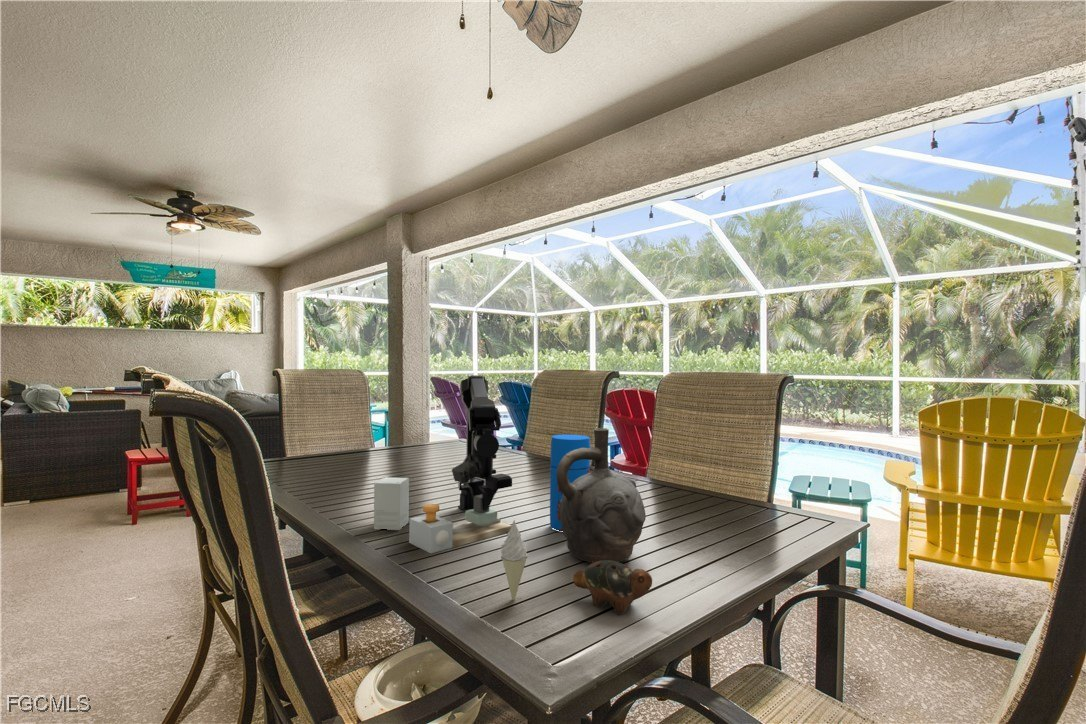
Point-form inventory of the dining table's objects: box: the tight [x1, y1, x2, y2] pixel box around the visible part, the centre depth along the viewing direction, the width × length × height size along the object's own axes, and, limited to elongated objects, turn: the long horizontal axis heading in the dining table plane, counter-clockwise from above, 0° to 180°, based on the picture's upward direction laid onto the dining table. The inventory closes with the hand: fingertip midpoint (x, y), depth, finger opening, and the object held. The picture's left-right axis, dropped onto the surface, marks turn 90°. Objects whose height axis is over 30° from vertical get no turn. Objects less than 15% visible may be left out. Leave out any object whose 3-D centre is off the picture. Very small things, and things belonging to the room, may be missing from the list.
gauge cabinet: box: [408, 514, 454, 554], centre depth 126 cm, size 6×10×6 cm, turn 44°
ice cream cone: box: [500, 520, 528, 601], centre depth 97 cm, size 5×5×15 cm
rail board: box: [452, 516, 512, 548], centre depth 135 cm, size 19×10×3 cm, turn 134°
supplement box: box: [373, 476, 410, 531], centre depth 140 cm, size 7×7×13 cm
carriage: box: [464, 494, 498, 525], centre depth 137 cm, size 6×6×6 cm
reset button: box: [422, 503, 440, 524], centre depth 126 cm, size 4×4×4 cm
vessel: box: [557, 427, 647, 564], centre depth 119 cm, size 24×22×30 cm
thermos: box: [549, 434, 591, 531], centre depth 142 cm, size 11×11×25 cm
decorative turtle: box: [572, 560, 653, 615], centre depth 95 cm, size 10×15×8 cm, turn 67°
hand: (481, 509), depth 137 cm, fingers closed on carriage, 3 cm apart
